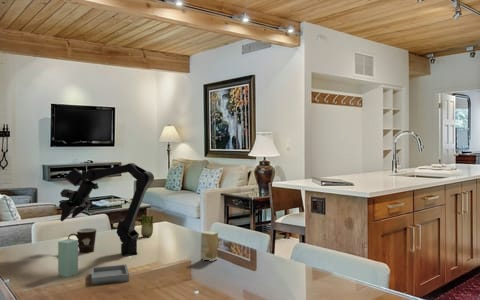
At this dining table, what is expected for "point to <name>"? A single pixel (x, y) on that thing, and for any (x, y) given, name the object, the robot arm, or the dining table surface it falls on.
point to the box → (109, 274)
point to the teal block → (67, 257)
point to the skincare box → (209, 245)
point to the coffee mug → (85, 239)
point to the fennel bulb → (147, 226)
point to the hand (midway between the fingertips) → (66, 219)
